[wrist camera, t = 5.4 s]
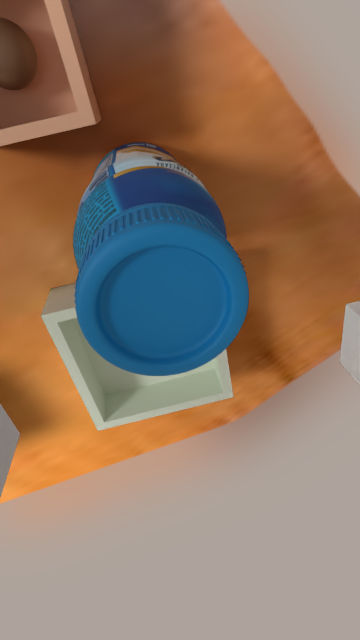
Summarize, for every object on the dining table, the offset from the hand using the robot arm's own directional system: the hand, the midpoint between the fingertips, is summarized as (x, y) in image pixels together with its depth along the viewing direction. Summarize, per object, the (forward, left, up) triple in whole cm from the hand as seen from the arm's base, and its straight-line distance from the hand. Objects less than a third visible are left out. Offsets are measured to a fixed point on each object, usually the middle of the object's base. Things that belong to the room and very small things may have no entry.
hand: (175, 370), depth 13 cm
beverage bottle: (0, +2, -21) cm, 21 cm away
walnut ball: (-6, +12, -20) cm, 24 cm away
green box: (-3, -12, -21) cm, 25 cm away
